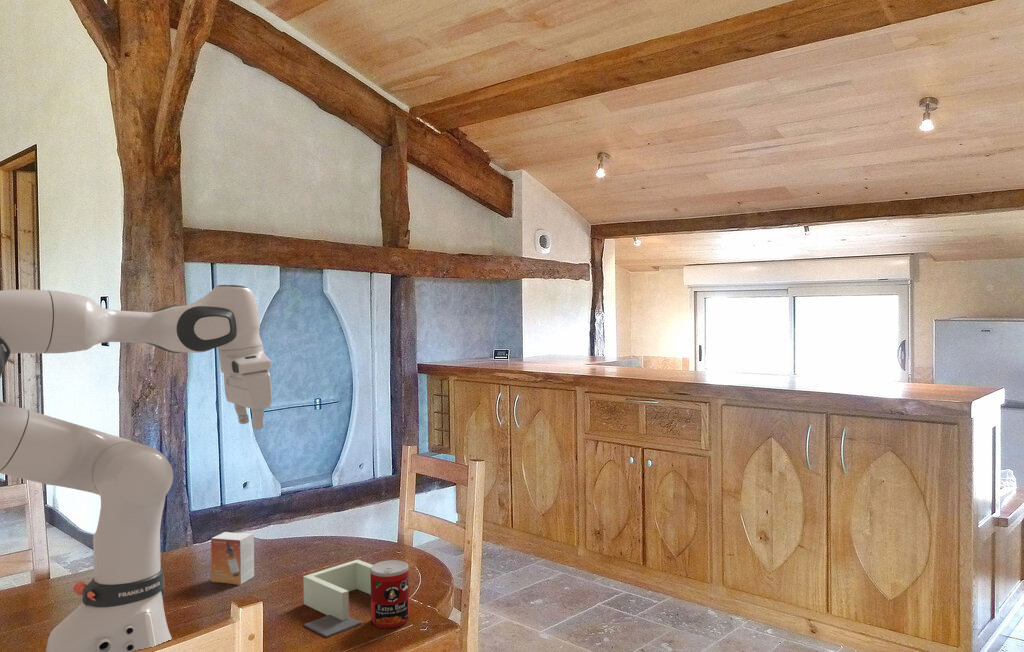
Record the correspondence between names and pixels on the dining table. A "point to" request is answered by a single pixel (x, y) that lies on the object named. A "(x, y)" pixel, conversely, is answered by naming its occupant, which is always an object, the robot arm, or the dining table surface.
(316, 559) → the dining table surface
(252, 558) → the small box
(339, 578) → the dock
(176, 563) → the dining table surface
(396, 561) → the canned food
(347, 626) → the mat
